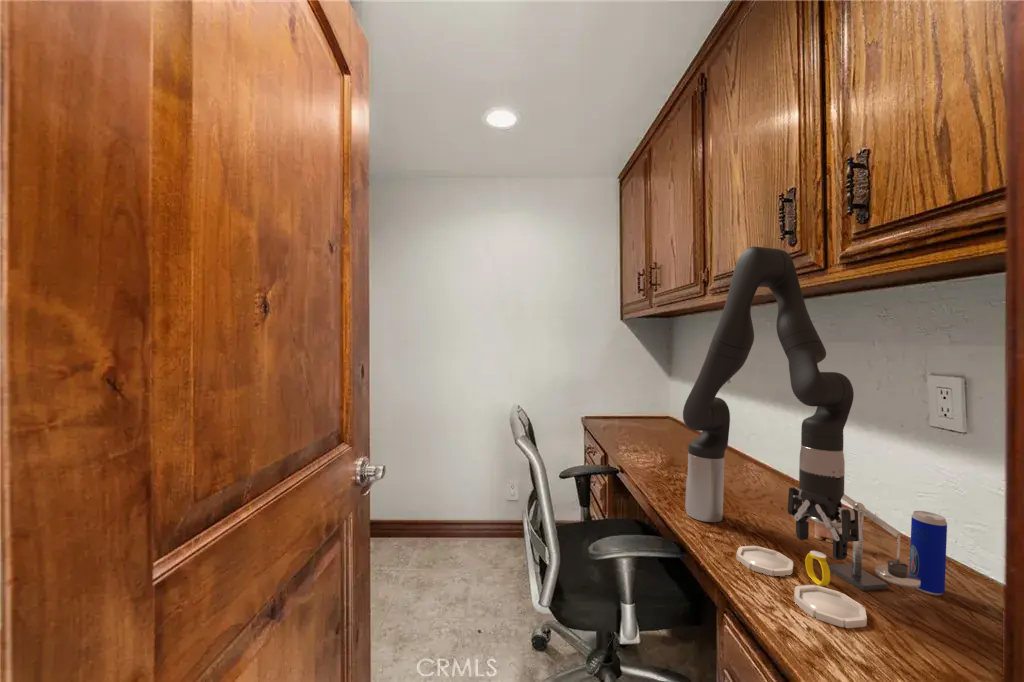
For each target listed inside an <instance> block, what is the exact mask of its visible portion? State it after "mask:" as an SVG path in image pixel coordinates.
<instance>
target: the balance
mask: <svg viewBox="0 0 1024 682" xmlns="http://www.w3.org/2000/svg"><path fill="white" fill-rule="evenodd" d="M841 500H843V501H844V502H845V503H847V504H848V505H850V506H851V507H852V509H856V510H857V512H858V527H859V541H853V542H852V554H851V555H852V557H851V562H848V563H834V564H828V566H829V570H830V573H832V572H833V573H832V574H833V575H835V574H836V575H835V576H837V577H838V578H840V579H842V580H844V581H845V582H847V583H849V584H850V585H852V586H853V587H856V588H857V589H859V590H860V591H862V592H869V591H880V590H888V589H889V583H891V584H894V585H896V586H900V587H903V588H909V589H915V588H918V587H920V585H921V580H920V579H919V578H918V577H917V576H916V575H914V574H912V573H910V571H908V570H909V569H908V568H909V566H908V564H906V563H904V562H903V561H900V553H901V550H900V549H901V537H902V534H903V533H902V532H901V531H899V530H898V529H897V528H895V527H893V526H892V525H890V524H889V523H888V522H886V521H885V520H883V519H882V518H880V517H878V516H877V515H876V514H874V513H873V512H871V511H870V510H868V509H867V508H866V506H865V505H864V504H863V503H862V502H859V501H858V502H857V501H856V500H854V499H853V498H851V497H850V496H848V495H847V494H845V493H844V496H843V497H842V498H841ZM864 516H865V517H867V518H868V519H870V520H871V521H873V522H874V523H876V524H877V525H878V526H880V528H881V527H882V528H883V530H885V531H886V532H888V533H889V534H891V535H892V536H893V537H895V538H897V539H896V540H897V541H896V560H895V559H888V560H887V564H883V565H882V564H880V565H877V566H875V575H876V576H878V577H876V576H874V575H873V574H871V573H869V572H867V570H864V569H862V568H863V545H864V543H863V542H864ZM808 520H809V521H811V522H814V523H815V522H816V523H819V524H822V525H825V523H824V522H822V521H820V520H818V519H817V518H814V517H810V518H809V519H808ZM832 523H837V522H836V520H834V521H832ZM887 582H888V583H887Z"/></svg>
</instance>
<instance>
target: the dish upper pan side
mask: <svg viewBox="0 0 1024 682" xmlns="http://www.w3.org/2000/svg"><path fill="white" fill-rule="evenodd" d="M735 555H736V557H735V559H736V561H738V562H739V563H740V562H741V563H740V564H741V565H743V566H744V567H746V568H747V569H748V570H750V571H753V572H755V573H759V574H762V573H763V574H762V575H765V576H766V575H767V576H769V575H770V576H769V577H774V576H780V577H786V576H785V575H791V574H792V573H793V571H794V561H793V560H792V559H790V558H789V557H787V556H786V555H784V554H782V553H781V552H779V551H777V550H775V549H770V548H767V547H763V546H760V545H759V546H758V545H742V546H739V547H738V548H737V551H736V554H735ZM792 575H793V574H792ZM792 575H791V576H792Z"/></svg>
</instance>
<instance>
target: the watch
mask: <svg viewBox="0 0 1024 682" xmlns="http://www.w3.org/2000/svg"><path fill="white" fill-rule="evenodd" d="M805 556H806V557H805V561H804V563H805V564H804V565H805V571H806V573H807V575H808V578H809V577H810V578H811V579H812V580H811V579H810V578H809V579H810V580H811V581H812V582H813V583H815V585H818V586H821V587H827V586H829V584H830V582H831V571H830V570H829V566H828V565H829V564H828V562H827V555H826V554H825V553H823V552H820V551H818V550H810V551H809V552H808V553H807V555H805ZM814 560H817V561H818V563H819V564H820V568H821V571H822V572H821V573H822V574H821V575H822V576H821V577H822V578H821V580H820V579H819V578H818V577H817V575H816V573H815V571H814Z"/></svg>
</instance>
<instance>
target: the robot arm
mask: <svg viewBox="0 0 1024 682" xmlns="http://www.w3.org/2000/svg"><path fill="white" fill-rule="evenodd" d="M732 273H733V274H732V277H731V282H730V283H729V289H728V293H727V297H726V301H725V304H724V306H723V310H722V312H721V315H720V319H719V322H718V325H717V327H716V329H715V331H714V333H713V336H712V339H711V341H710V344H709V347H708V350H707V353H706V357H705V359H704V362H703V364H702V367H701V369H700V371H699V374H698V376H697V379H696V381H695V383H694V385H693V387H692V388H691V391H690V392H689V395H688V396H687V398H686V400H685V403H684V406H683V410H682V418H683V423H684V425H685V427H686V428H688V429H689V430H691V431H696V432H701V433H700V435H699V436H698V437H696V438H695V439H693V440H692V441H690V442H689V443H688V449H687V450H688V451H687V453H688V456H687V457H688V459H687V476H686V477H685V500H684V501H685V503H684V504H685V505H684V507H685V508H684V510H686V512H685V513H686V514H687V516H689V517H690V518H692V519H694V520H697V521H699V522H704V523H705V522H707V523H719V522H721V521H722V520H723V512H724V511H723V509H724V488H725V487H724V482H725V455H726V451H727V448H728V446H729V445H728V444H729V437H730V436H729V435H730V426H731V425H730V423H731V413H730V408H729V406H728V404H727V402H726V401H725V400H724V399H723V398H721V397H716V396H717V395H718V394H719V391H720V390H721V388H722V387H723V386H724V385H725V384H726V383H727V382H728V381H729V380H731V378H733V377H734V376H735V375H736V374H737V373H738V372H739V371H740V370H741V368H742V367H744V364H745V363H746V361H747V359H748V357H749V354H750V353H751V349H752V346H753V344H754V340H755V331H754V325H753V320H752V316H751V315H752V314H751V313H752V312H751V311H752V310H751V309H752V304H753V301H754V298H755V295H756V293H757V290H758V289H759V288H761V287H762V288H768V289H769V290H770V291H771V293H772V295H773V296H774V298H775V300H776V303H777V317H776V327H775V328H776V333H777V337H778V341H779V342H780V344H781V347H782V350H783V352H784V353H785V356H786V358H787V361H788V371H789V379H790V386H791V389H792V392H793V395H794V396H795V397H796V399H797V400H798V401H799V402H801V404H803V405H805V406H808V407H816V410H815V412H814V414H813V415H811V416H808V417H806V418H804V419H803V420H802V423H801V433H800V435H801V438H800V439H801V440H800V442H801V443H800V452H799V464H798V465H799V466H798V467H799V468H798V469H799V470H798V471H799V473H798V474H799V475H798V478H799V479H798V487H797V486H796V487H795V486H794V487H789V488H788V498H787V513H788V514H789V516H790V515H792V516H793V517H794V518H793V519H794V520H795V534H796V538H797V539H799V540H801V541H804V540H806V541H807V540H808V539H809V528H810V525H809V524H810V523H809V521H808V520H810V519H809V518H810V517H814V518H817V519H818V520H820V521H822V522H824V523H825V525H826V527H827V528H828V529H830V531H831V533H832V535H833V537H834V539H833V543H832V558H833V559H834V560H837V561H842V560H846V558H847V557H848V543H850V542H851V543H853V541H859V527H858V512H857V510H856V509H853V508H847V507H845V506H843V504H842V499H841V498H842V497H843V496H844V494H845V463H846V461H845V454H844V429H845V427H846V423H847V421H848V418H849V416H850V415H849V414H850V412H851V409H852V405H853V402H854V388H853V384H852V383H851V380H850V379H849V377H847V376H846V375H845V374H843V373H840V372H836V371H835V372H834V371H820V370H819V366H818V364H819V363H821V362H822V361H823V360H824V359H826V356H827V351H826V348H825V345H824V343H823V342H822V340H821V337H820V336H819V333H818V331H817V329H816V327H815V326H814V324H813V321H812V319H811V317H810V315H809V312H808V309H807V306H806V303H805V298H804V295H803V291H802V287H801V285H800V281H799V276H798V273H797V270H796V266H795V263H794V261H793V259H792V257H791V255H790V254H789V252H787V251H786V250H783V249H779V248H774V247H773V248H772V247H764V246H750V247H747V248H746V249H744V250H743V251H742V252H741V254H740V256H739V257H738V259H737V260H736V264H735V267H734V270H733V272H732ZM834 520H836V522H837V523H832V521H834Z"/></svg>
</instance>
